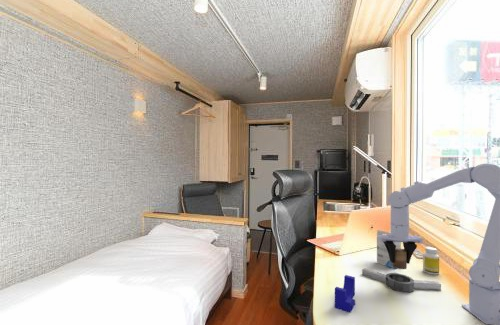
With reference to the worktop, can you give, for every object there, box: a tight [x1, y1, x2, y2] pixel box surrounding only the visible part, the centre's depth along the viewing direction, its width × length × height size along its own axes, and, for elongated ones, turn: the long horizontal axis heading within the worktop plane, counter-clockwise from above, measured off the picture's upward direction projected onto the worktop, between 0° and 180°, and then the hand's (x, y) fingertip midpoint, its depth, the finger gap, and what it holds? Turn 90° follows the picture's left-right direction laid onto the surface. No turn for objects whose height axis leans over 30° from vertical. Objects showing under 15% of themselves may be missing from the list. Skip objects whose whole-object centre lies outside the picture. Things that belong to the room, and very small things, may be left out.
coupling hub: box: [392, 248, 408, 270], centre depth 91 cm, size 5×4×6 cm
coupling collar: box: [361, 267, 442, 294], centre depth 93 cm, size 14×23×3 cm, turn 84°
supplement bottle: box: [422, 246, 440, 276], centre depth 104 cm, size 5×5×10 cm
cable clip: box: [334, 274, 356, 314], centre depth 80 cm, size 12×4×6 cm, turn 144°
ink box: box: [376, 229, 402, 270], centre depth 111 cm, size 8×5×15 cm, turn 29°
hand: (399, 262), depth 91 cm, fingers closed on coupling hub, 4 cm apart
